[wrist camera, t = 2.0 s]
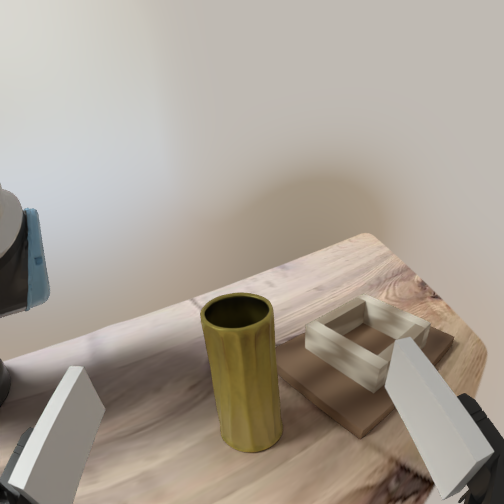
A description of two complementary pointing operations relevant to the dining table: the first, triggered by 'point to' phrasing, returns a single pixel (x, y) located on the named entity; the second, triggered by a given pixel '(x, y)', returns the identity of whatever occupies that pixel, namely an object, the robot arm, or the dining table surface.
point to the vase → (243, 369)
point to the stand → (354, 359)
